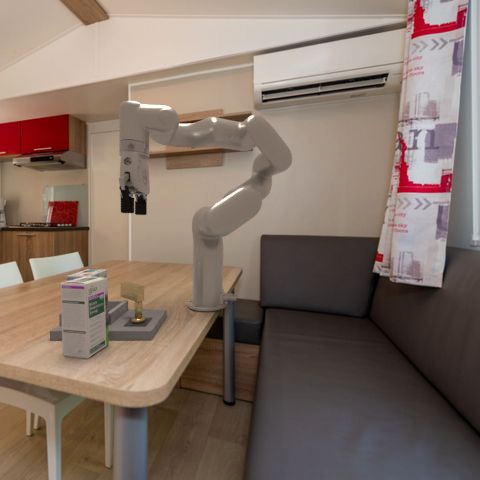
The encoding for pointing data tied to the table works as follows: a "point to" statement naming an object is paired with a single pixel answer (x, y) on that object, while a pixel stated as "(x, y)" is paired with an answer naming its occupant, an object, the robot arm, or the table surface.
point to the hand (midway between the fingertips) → (134, 214)
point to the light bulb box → (88, 274)
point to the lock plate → (125, 323)
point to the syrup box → (84, 316)
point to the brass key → (134, 299)
